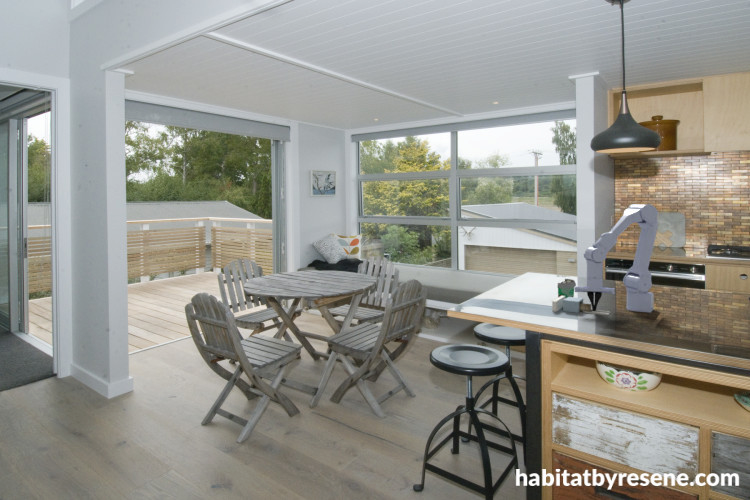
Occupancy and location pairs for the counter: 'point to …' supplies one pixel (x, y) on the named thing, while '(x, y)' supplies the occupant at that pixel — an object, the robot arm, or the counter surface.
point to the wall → (557, 303)
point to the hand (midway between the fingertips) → (594, 310)
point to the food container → (566, 288)
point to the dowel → (585, 307)
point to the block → (572, 304)
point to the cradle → (597, 312)
